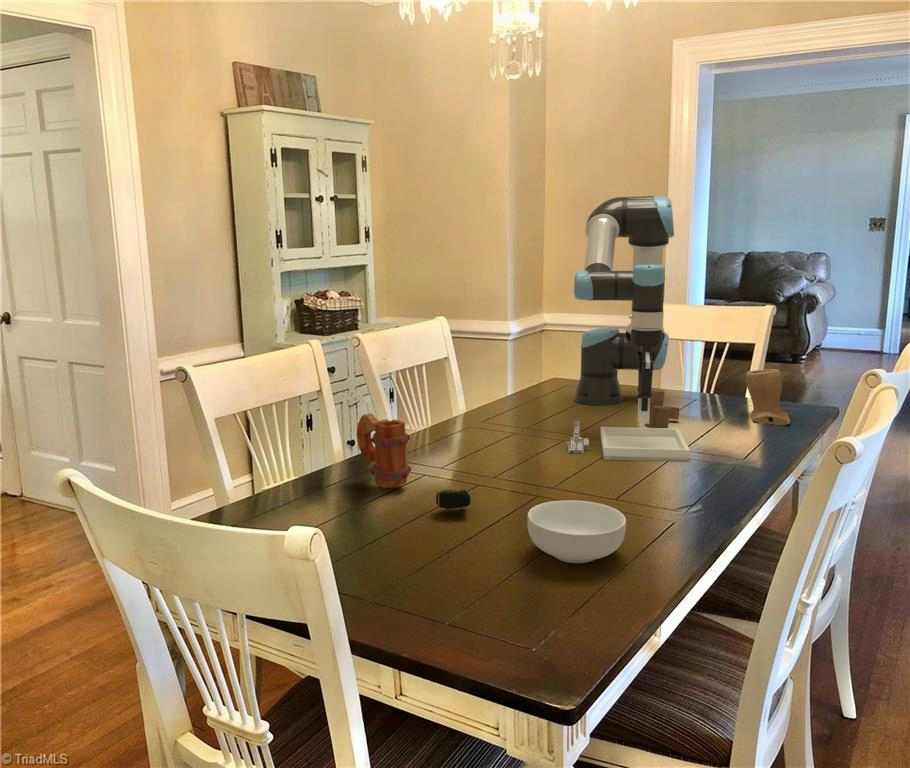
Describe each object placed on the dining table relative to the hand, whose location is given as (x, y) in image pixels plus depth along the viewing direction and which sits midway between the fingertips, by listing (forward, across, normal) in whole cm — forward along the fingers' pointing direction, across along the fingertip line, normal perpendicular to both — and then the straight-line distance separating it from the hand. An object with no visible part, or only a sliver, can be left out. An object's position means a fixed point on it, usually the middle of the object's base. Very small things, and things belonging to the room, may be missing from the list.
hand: (643, 422), depth 195 cm
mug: (+7, +32, -59) cm, 67 cm away
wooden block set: (+7, -22, +6) cm, 23 cm away
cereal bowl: (+8, +66, -17) cm, 68 cm away
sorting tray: (+7, 0, 0) cm, 7 cm away
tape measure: (+7, +49, -38) cm, 62 cm away
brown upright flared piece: (+7, -32, +37) cm, 50 cm away
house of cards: (+8, +2, -14) cm, 16 cm away
